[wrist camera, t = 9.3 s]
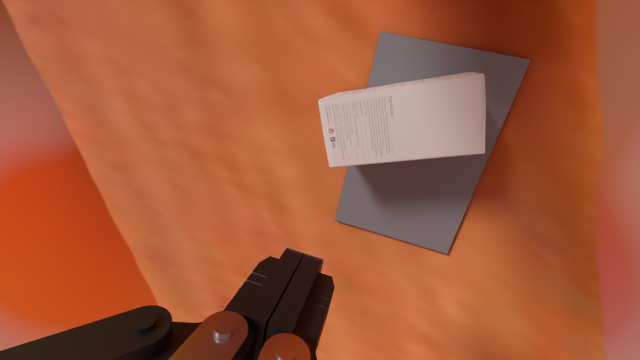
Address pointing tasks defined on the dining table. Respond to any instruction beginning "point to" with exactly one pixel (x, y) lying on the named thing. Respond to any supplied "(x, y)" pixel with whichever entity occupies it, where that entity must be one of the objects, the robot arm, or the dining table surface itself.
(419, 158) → the small box
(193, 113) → the dining table surface
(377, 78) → the slate mat
